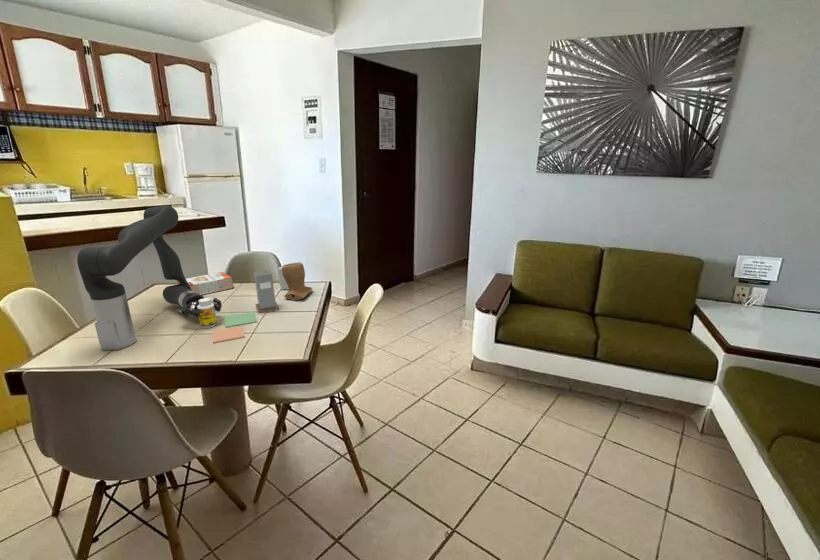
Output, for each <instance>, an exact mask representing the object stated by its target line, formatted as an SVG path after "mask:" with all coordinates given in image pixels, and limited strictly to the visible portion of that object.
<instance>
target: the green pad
mask: <svg viewBox="0 0 820 560" xmlns="http://www.w3.org/2000/svg"><path fill="white" fill-rule="evenodd" d="M223 319H224V325H225V329H228V328H233V327H239V326H243V325H251V324H255V323H258V320H257V319H258V318H257V317H256V313H255V311H249V312H244V313H237V314H233V315H226V316H224V317H223Z"/></svg>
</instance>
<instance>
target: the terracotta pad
mask: <svg viewBox="0 0 820 560" xmlns="http://www.w3.org/2000/svg"><path fill="white" fill-rule="evenodd" d="M211 335H212V344H217V343H222V342H223V343H224V342H228V341H234V340H239V339H244V338H245V337H246V336H245V332H244V328H243V325H239V326H234V327H228V328H224V329H223V328H222V329H218V330H212V331H211Z"/></svg>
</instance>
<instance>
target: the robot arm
mask: <svg viewBox="0 0 820 560" xmlns="http://www.w3.org/2000/svg"><path fill="white" fill-rule="evenodd" d="M178 222H179V214H178V211H177V210H176V209H175V208H174V207H173V206H171V205H159V206H152V207H149V208H146V209H145V210H144V212H143V219H140V220H137V221H134V222H132V223H130V224H129V225H127V226H125V227H124V228H123V229H121V230H120V232H119V234H118V236H117V237H118V238H117V240H118V241H117V242H118V243H116V244H114V245H109V246H93V247H92V246H90V247H84V248H82V249H80V250H79V252H78V254H77V259H76V260H77V267H78V271H79V273H80V276H81V279H82V282H83V286H84V289H85V290H86V292H87V294H88V295H89V298H90V300H91V305H92V308H93V313H94V317H95V320H96V321H95V322H94V328H95V331H96V334H97V339H98V342H99V346H100V350H101V351H102V350H105V351H107V350H111V351H114V350H117V351H119V350H121V349H123V348H127V347H129V346H132V345H134V344H135V343H136V342H137V336H136V332H135V328H134V323H133V319H132V314H131V310H130V306H129V302H128V299H127V294H126V289H125V287H124V285H123V284H122V283H119V282H116V281H113V280H111V279H109V278H108V277H109V276H110V277H111V276H116V275H118V274H121V272H123V271H124V270H125V269H126V267H127V266H128V265H129V264H130V263H131V262H132V260H133V259H134V258H135V257H136V256H137V255H138V254H140V253H141V252H142V251H143V250H145V249H146V248H147V247H148V246H150V245H151V244H152V243H153V245H154V246H153V247H154V248H155V250H156V253H157V256H158V259H159V262H160V266H161V267H160V268H161V271H162V274H163V275H162V276H163V277H164V279H165V280H167V281H168V280H169V281H170V280H171V281H173V280H174V281H176V282H177V281H178V282H179V284H177V283H176V284H172V285H167V286H165V288H164V289H163V290H162V298H163V299H164V300H165V301H166V302H167V303H168V304H171V305H175V306H177V305H178V311H179V314H180V315H182V317H185V318H188V317H194V318H196V319H199V312H198V309H197V306H198V305H199V300H200V299H204V298H205V296H203V295H200V294H198V293H196V292H193V291H192V289H191V287H190V285H189V284H188V282H187V280H186V279H187V278H186V277H185V275H184V272H183V267H182V263H181V259H180V257H179V256H178V254H177V253H176V251H175V250H174V249H173V247H171V246H170V245H169V244H168V243H167V242H166V240H165V239H164V237H163V234H165V233H166V232H167V231H169V230H172V229H173V228H175V227H176V226H177V224H178ZM211 303H213V304H214V308H215V312H216V313H219V312H221V310H222V300H220V299H219V298H216V297H214V298H213V299H212V300H211Z"/></svg>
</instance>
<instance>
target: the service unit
mask: <svg viewBox="0 0 820 560" xmlns="http://www.w3.org/2000/svg"><path fill="white" fill-rule="evenodd" d="M253 277H254V284H255V290H256V296H257V303H255V308H256V310H257V311H256V312H257V313H258V314H259V313H260V314H265V313H271V312H276V311H275V310H277V311H280V307H279V305H278V303H277V301H276V296H275V288H274V281H273V273H272V272H271V270H270V269H267V270H260V271H259V270H258V271H253ZM270 311H271V312H270ZM264 312H265V313H264Z"/></svg>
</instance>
